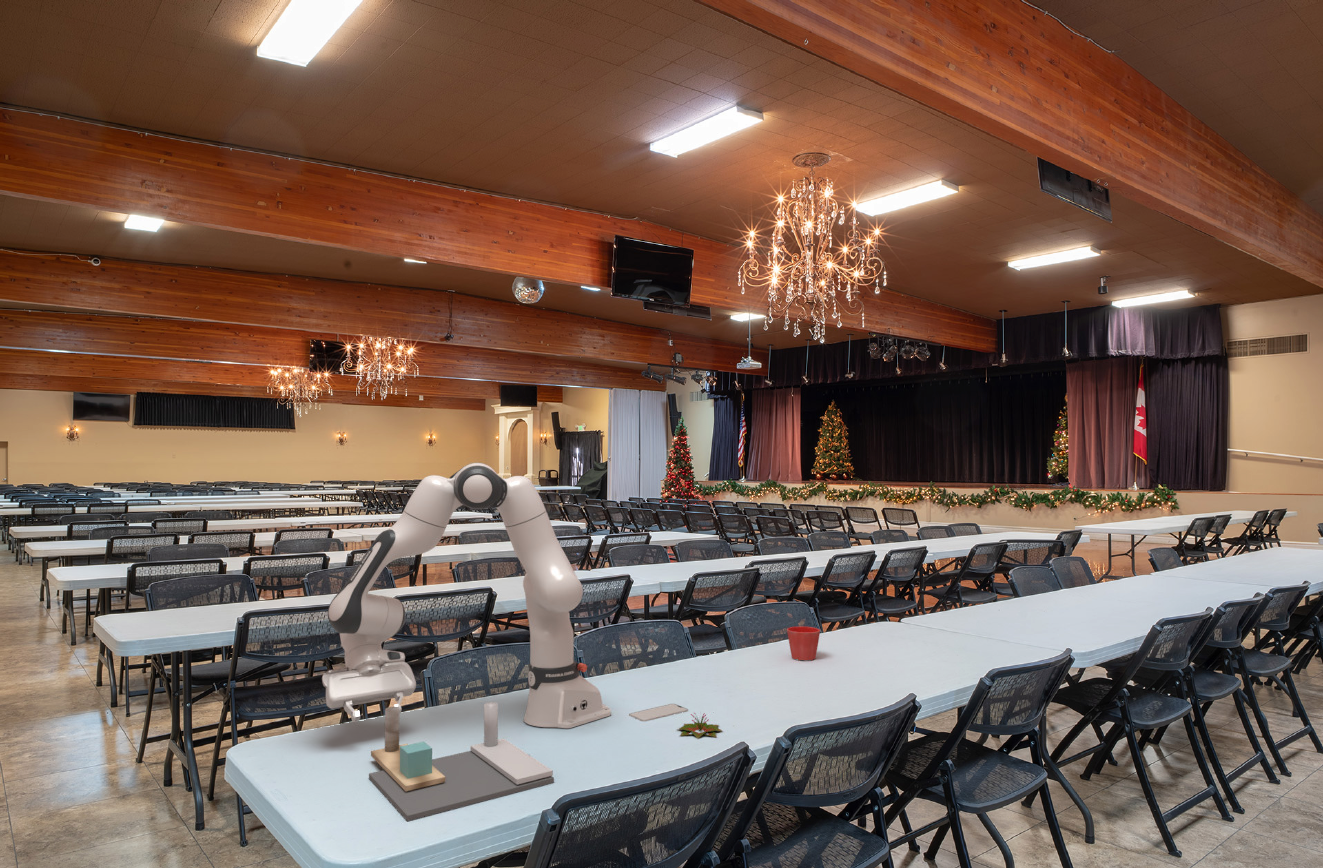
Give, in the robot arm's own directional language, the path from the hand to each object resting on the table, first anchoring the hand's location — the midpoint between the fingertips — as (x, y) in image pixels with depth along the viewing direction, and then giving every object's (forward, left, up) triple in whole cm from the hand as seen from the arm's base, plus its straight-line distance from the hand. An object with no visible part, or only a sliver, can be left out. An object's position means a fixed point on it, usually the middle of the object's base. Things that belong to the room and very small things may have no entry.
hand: (377, 716), depth 185 cm
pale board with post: (-19, +31, -6) cm, 37 cm away
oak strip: (0, +21, -6) cm, 21 cm away
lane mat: (-8, +31, -7) cm, 32 cm away
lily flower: (-67, +36, -8) cm, 76 cm away
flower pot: (-140, -1, -7) cm, 140 cm away
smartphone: (-67, +18, -8) cm, 70 cm away
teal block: (0, +27, -5) cm, 27 cm away
